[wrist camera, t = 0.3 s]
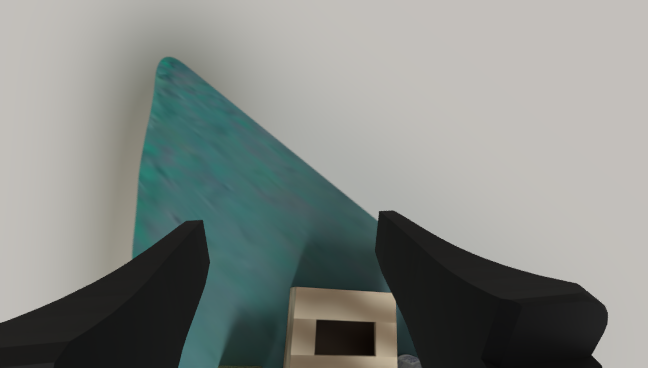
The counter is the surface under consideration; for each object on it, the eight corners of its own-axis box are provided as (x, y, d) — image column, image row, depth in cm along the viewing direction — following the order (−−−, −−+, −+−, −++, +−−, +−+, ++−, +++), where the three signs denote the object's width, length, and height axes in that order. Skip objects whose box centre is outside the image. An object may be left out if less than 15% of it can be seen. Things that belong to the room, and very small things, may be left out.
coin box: (376, 377, 38) (398, 391, 32) (282, 376, 36) (287, 391, 30) (376, 293, 41) (395, 293, 36) (290, 287, 39) (296, 286, 34)
